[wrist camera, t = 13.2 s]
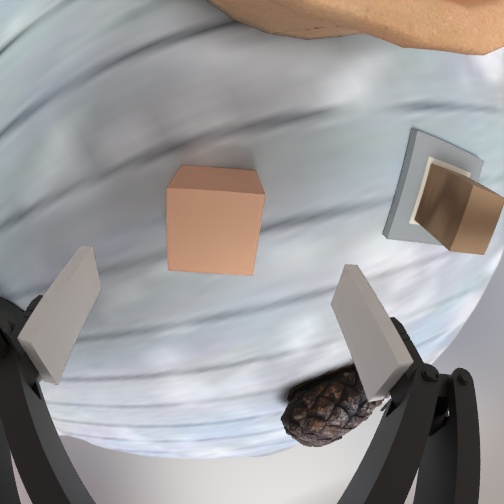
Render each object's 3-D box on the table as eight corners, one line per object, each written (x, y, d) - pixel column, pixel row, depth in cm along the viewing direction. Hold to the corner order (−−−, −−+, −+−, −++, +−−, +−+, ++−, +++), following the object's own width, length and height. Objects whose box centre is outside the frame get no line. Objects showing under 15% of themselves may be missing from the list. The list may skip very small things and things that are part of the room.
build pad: (450, 242, 27) (455, 247, 26) (382, 234, 26) (387, 239, 25) (477, 158, 22) (484, 161, 21) (411, 128, 20) (418, 130, 19)
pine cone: (387, 367, 40) (409, 415, 31) (297, 411, 44) (307, 459, 35) (371, 339, 35) (398, 398, 26) (265, 393, 39) (274, 450, 31)
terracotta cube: (247, 235, 25) (252, 275, 20) (179, 231, 24) (168, 270, 19) (255, 170, 22) (265, 194, 17) (181, 165, 21) (166, 188, 16)
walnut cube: (450, 226, 25) (483, 254, 20) (414, 219, 24) (449, 251, 19) (466, 176, 22) (505, 198, 17) (430, 163, 21) (473, 184, 16)
